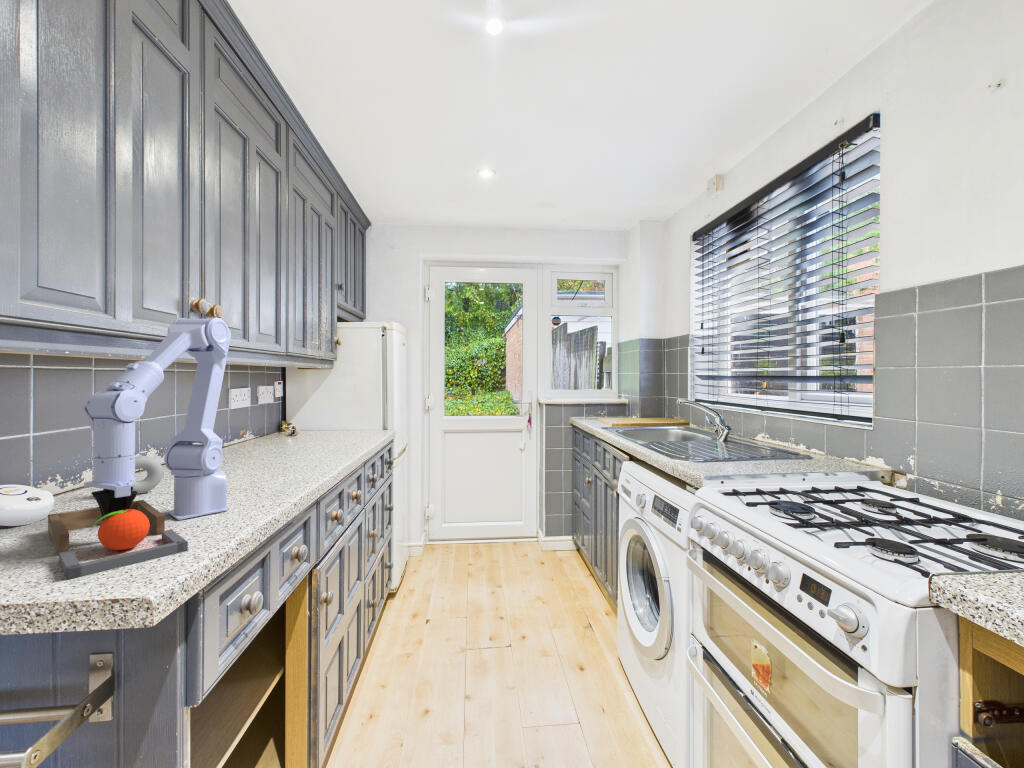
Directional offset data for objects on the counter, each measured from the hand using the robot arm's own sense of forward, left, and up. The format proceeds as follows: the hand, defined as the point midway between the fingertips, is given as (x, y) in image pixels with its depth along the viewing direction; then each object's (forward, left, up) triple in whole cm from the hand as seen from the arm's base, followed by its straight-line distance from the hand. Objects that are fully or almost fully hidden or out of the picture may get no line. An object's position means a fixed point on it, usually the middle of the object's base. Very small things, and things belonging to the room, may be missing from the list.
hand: (114, 529), depth 81 cm
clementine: (0, +6, -3) cm, 6 cm away
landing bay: (0, +10, -2) cm, 10 cm away
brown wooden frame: (0, -7, -2) cm, 7 cm away
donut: (-11, -40, -3) cm, 42 cm away
